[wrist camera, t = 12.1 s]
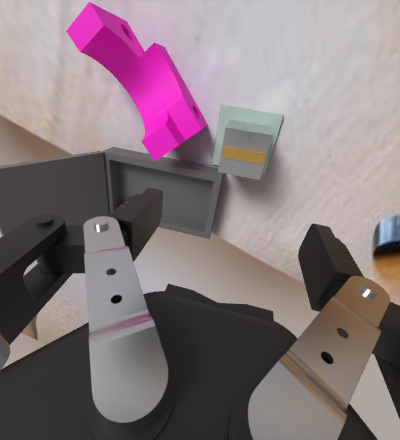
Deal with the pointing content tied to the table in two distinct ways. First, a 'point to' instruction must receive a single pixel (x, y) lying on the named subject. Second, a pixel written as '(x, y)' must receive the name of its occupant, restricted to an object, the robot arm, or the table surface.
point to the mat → (246, 116)
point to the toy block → (140, 78)
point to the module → (244, 149)
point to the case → (108, 189)
